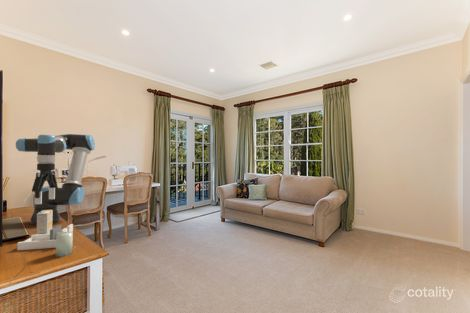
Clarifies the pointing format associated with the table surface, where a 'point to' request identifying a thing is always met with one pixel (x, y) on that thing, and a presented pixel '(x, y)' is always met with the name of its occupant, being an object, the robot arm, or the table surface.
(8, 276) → the table surface
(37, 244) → the white open tray
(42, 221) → the supplement box
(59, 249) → the sage jar
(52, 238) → the pusher
